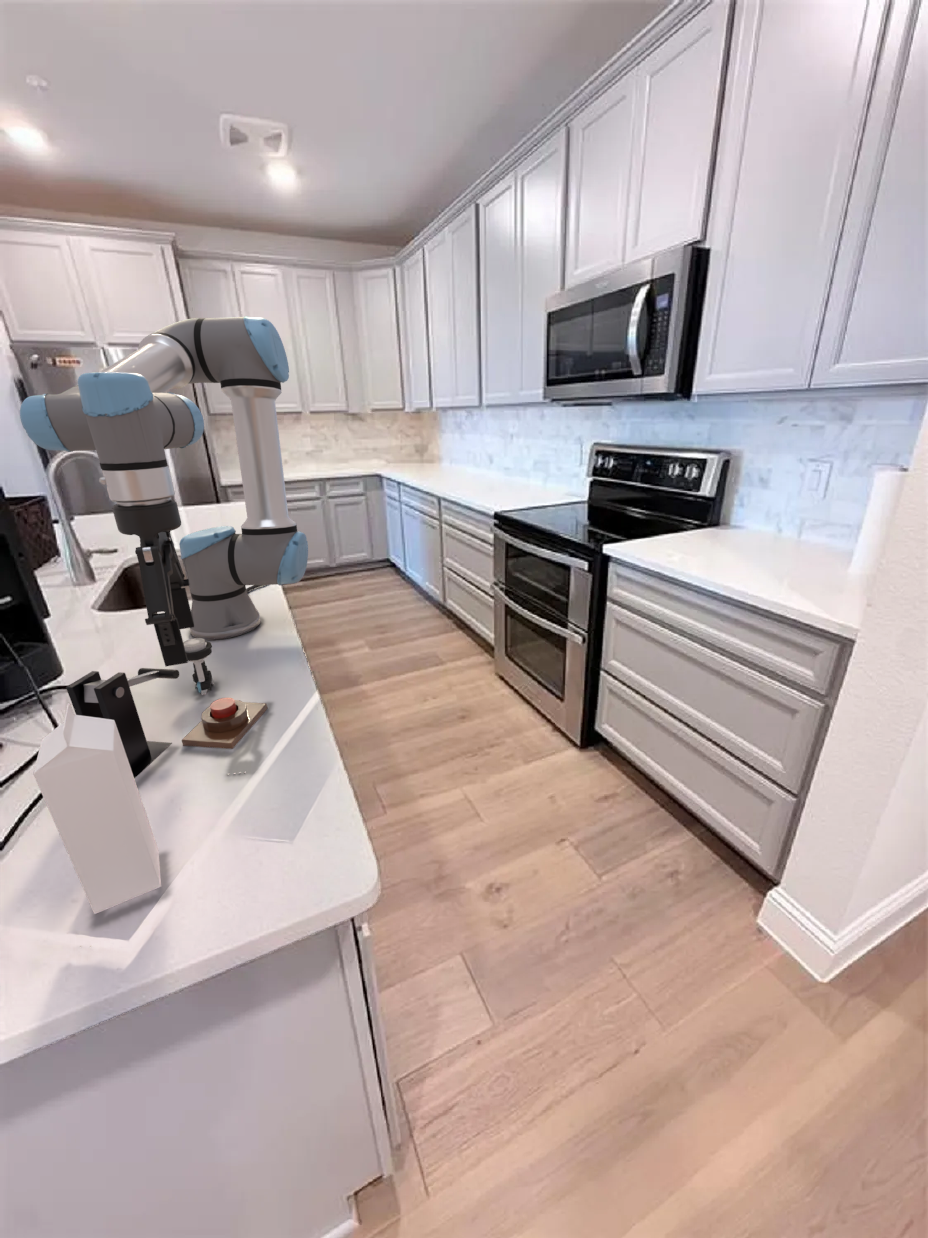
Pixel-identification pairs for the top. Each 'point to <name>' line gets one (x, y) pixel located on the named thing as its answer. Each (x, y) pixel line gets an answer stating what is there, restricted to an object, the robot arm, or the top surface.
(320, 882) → the top surface
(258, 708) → the button block
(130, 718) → the switch bracket
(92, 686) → the switch lever
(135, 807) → the milk
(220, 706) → the button
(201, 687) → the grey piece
